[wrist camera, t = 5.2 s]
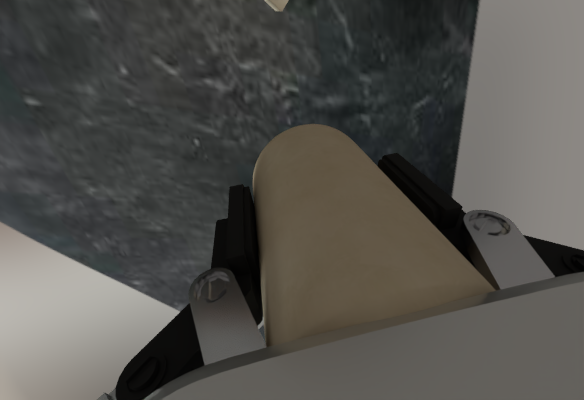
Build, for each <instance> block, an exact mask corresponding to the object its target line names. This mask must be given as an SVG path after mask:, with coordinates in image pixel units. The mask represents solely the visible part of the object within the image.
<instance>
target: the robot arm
mask: <svg viewBox="0 0 584 400" xmlns="http://www.w3.org/2000/svg"><path fill="white" fill-rule="evenodd" d="M378 168H379V169H380V170H381V171H382V172H383V173H384V174H385V175H386V176H387V177H388V178H389V179H390V180H391V181H392V182H393V183H394V184H395V185H396V186H397V187H398V188H399V189H400V190H401V191H402V193H403V194H404V195H405V196H406V197H407V198H408V199H409V200H410V201H411V202H412V203H413V204H414V205H415V206H416V207H417V208H418V209H419V210H420V211H421V212H422V213H423V214H424V215H425V217H426V218H427V219H428V220H429V221H430V222H431V223H432V224H433V225H434V226H435V227H436V228H437V229H438V230H439V231H440V232H441V233H442V234H443V235H444V236H445V237H446V238H447V239H448V240H449V242H450V243H451V244H452V245H453V246H454V247H455V248H456V249H457V250H458V251H459V252H460V253H461V254H462V255H463V256H464V257H465V258H466V259H467V260H468V261H469V262H470V263H471V264H472V266H473V267H474V268H475V269H476V270H477V271H478V272H479V273H480V274H481V275H482V276H483V277H484V278H485V279H486V280H487V281H488V282H489V283H490V284H491V285H492V287H493V288H494V289H495V290H496V291H493V292H489V293H484V294H480V295H476V296H472V297H468V298H464V299H459V300H455V301H451V302H448V303H445V304H442V305H439V306H435V307H432V308H428V309H424V310H421V311H417V312H413V313H409V314H405V315H400V316H396V317H391V318H386V319H382V320H377V321H371V322H366V323H361V324H357V325H353V326H349V327H345V328H341V329H337V330H333V331H329V332H325V333H321V334H317V335H313V336H309V337H305V338H301V339H297V340H293V341H289V342H285V343H281V344H277V345H274V346H270V347H267V346H266V344H265V342H264V340H263V338H262V335H261V333H260V331H259V328H260V327H261V326H262V325H264V318H263V305H262V293H261V281H260V269H259V257H258V244H257V232H256V220H255V208H254V203H253V200H252V196H251V192H250V189H249V187H244V185H243V184H241V185H236V186H231V187H230V190H229V208H228V218H227V219H222V220H218V221H217V222H216V229H215V238H214V247H213V255H212V264H211V269H210V270H207V271H205V272H203V273H202V274H200V275H199V276H198V277H197V278H196V279H195V280H194V281H193V283H192V284H191V286H190V289H189V292H188V293H189V302H190V303H189V304H188V305H187V306H186V307H185V308H184V309H183V310H182V311H181V312H180V313H179V314H178V315H177V316H176V317H175V318H174V319H173V320H172V321H171V322H170V323H169V324H168V325H167V326H166V327H165V328H164V329H162V331H160V332H159V333H158V334H157V335H156V336H155V337H154V338H153V339H152V340H151V341H150V342H149V343H148V344H147V345H146V346H145V347H144V348H143V349H142V350H141V351H140V352H139V353H138V354H137V355H136V356H135V357H134V358H133V359H132V360H131V361H130V362H129V363H128V364H127V366H126V367H125V368H124V370H123V372H122V373H121V375H120V377H119V380H118V382H117V385H116V388H115V389H114V390H113V391H112V392H111V393H110V394H109V395H108V394H106V393H104V394H103V395H102V396H101V397H99V398H98V399H97V400H584V251H583V250H580V249H576V248H572V247H568V246H564V245H560V244H556V243H553V242H549V241H544V240H541V239H536V238H533V237H529V236H525V235H522V233H521V232H520V231H519V229H518V228H517V227H516V226H515V224H514V223H513V222H512V221H511V220H510V219H508V218H506V217H505V216H503V215H500V214H498V213H496V212H491V211H486V210H475V211H474V210H473V211H470V212H468V213H467V214H466V213H465V212H464V211H463V210H462V206H461V205H460V204H459V203H457V202H456V201H455V200H454V199H453V198H451V197H450V196H449V195H448V194H446V193H445V192H444V191H443V190H442V189H440V188H439V187H438V186H437V185H436V184H434V183H433V182H432V181H431V180H430V179H428V178H427V177H426V176H425V175H424V174H422V173H421V172H420V171H419V170H417V169H416V168H415V167H414V166H413V165H411V164H410V163H409V162H408V161H407V160H405V159H404V158H403V157H402V156H401V155H399V154H398V153H394V154H389V155H384V156H383V157H382V159H381V160H379V162H378Z"/></svg>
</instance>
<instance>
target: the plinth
mask: <svg viewBox="0 0 584 400" xmlns="http://www.w3.org/2000/svg"><path fill="white" fill-rule="evenodd" d="M264 1H265V2H266V3H268V4H269V5H270V6H271V7H272V8H273V9H274V10H275V11H282V10H283V9H284V7H285V5H286V4H287V2H288V0H264Z"/></svg>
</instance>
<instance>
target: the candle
mask: <svg viewBox="0 0 584 400" xmlns="http://www.w3.org/2000/svg"><path fill="white" fill-rule="evenodd" d="M253 196H254V208H255V220H256V232H257V244H258V257H259V269H260V281H261V293H262V305H263V318H264V330H265V342H266V346H267V347H270V346H274V345H277V344H281V343H285V342H289V341H293V340H297V339H301V338H305V337H309V336H313V335H317V334H321V333H325V332H329V331H333V330H337V329H341V328H345V327H349V326H353V325H357V324H361V323H366V322H371V321H377V320H382V319H386V318H391V317H396V316H400V315H405V314H409V313H413V312H417V311H421V310H424V309H428V308H432V307H435V306H439V305H442V304H445V303H448V302H451V301H455V300H459V299H464V298H468V297H472V296H476V295H480V294H484V293H489V292H493V291H496V290H495V289H494V288H493V287H492V285H491V284H490V283H489V282H488V281H487V280H486V279H485V278H484V277H483V276H482V275H481V274H480V273H479V272H478V271H477V270H476V269H475V268H474V267H473V266H472V264H471V263H470V262H469V261H468V260H467V259H466V258H465V257H464V256H463V255H462V254H461V253H460V252H459V251H458V250H457V249H456V248H455V247H454V246H453V245H452V244H451V243H450V242H449V240H448V239H447V238H446V237H445V236H444V235H443V234H442V233H441V232H440V231H439V230H438V229H437V228H436V227H435V226H434V225H433V224H432V223H431V222H430V221H429V220H428V219H427V218H426V217H425V215H424V214H423V213H422V212H421V211H420V210H419V209H418V208H417V207H416V206H415V205H414V204H413V203H412V202H411V201H410V200H409V199H408V198H407V197H406V196H405V195H404V194H403V193H402V191H401V190H400V189H399V188H398V187H397V186H396V185H395V184H394V183H393V182H392V181H391V180H390V179H389V178H388V177H387V176H386V175H385V174H384V173H383V172H382V171H381V170H380V169H379V168H378V166H377V165H376V164H375V163H374V162H373V161H372V160H371V159H370V158H369V157H368V156H367V155H366V154H365V153H364V152H363V151H362V150H361V149H360V148H359V147H358V146H357V145H356V144H355V143H354V142H353V141H352V140H351V139H350V138H349V137H348V136H347V135H345V134H344V133H342V132H340V131H339V130H337V129H335V128H332V127H329V126H325V125H320V124H306V125H300V126H296V127H293V128H290V129H288V130H286V131H284V132H282V133H281V134H279V135H277V136H276V137H275V138H274V139H272V140H271V141H270V142H269V143H268V144H267V145H266V146H265V148H264V149H263V151H262V152H261V153H260V155H259V157H258V159H257V162H256V165H255V168H254V173H253Z"/></svg>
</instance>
